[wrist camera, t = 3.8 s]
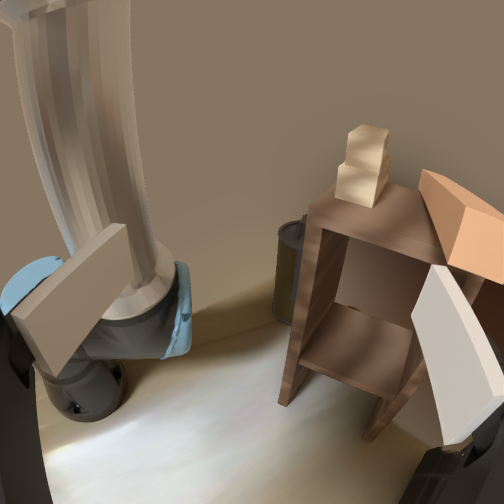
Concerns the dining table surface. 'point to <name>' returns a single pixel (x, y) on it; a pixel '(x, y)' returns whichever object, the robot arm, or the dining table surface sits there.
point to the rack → (329, 271)
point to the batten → (465, 227)
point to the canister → (288, 268)
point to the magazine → (431, 476)
